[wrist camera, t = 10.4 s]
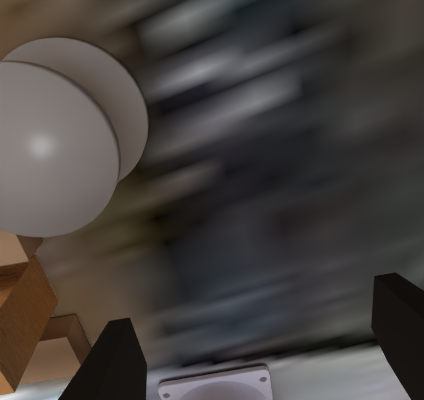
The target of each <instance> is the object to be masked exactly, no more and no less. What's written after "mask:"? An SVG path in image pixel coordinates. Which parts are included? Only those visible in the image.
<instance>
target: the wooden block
mask: <svg viewBox="0 0 424 400" xmlns="http://www.w3.org/2000/svg"><path fill="white" fill-rule="evenodd" d="M57 302H58V301H57V299H56V296H55V294H54V292H53V290H52V288H51V286H50V284H49V282H48V280H47V278H46V276H45V274H44V272H43V270H42V268H41V266H40V264H39V262H38V260H37V258H36V255H33V256H32V258H31V259H30V260H29V261H28V262H22V263H16V264H10V265H5V266H0V395H4V394H9V393H15V391H16V389H17V387H18V385H19V383H20V380H21V378H22V376H23V374H24V372H25V370H26V368H27V366H28V363H29V361H30V359H31V357H32V355H33V353H34V351H35V348H36V346H37V344H38V342H39V340H40V338H41V336H42V334H43V331H44V329H45V327H46V325H47V323H48V321H49V319H50V317H51V314H52V312H53V310H54V308H55V306H56V304H57Z"/></svg>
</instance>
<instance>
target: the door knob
mask: <svg viewBox="0 0 424 400" xmlns="http://www.w3.org/2000/svg"><path fill="white" fill-rule="evenodd" d="M148 132H149V114H148V109H147V104H146V101H145V98H144V95H143V93H142V91H141V88H140V86H139V85H138V83H137V81H136V80H135V78H134V77H133V75H132V74H131V73H130V72H129V70H128V69H127V68H126V67H125V66H124V65H123V64H122V63H121V62H120V61H119V60H118V59H117V58H115V57H114V56H113V55H111V54H110V53H109V52H107V51H105V50H104V49H102V48H100V47H98V46H96V45H94V44H91V43H89V42H86V41H82V40H79V39H73V38H62V37H56V38H46V39H39V40H35V41H31V42H28V43H26V44H24V45H21V46H19V47H18V48H16V49H15V50H13V51H12V52H10V53H9V54H8V55H7V56H6V57H5V58H4V59H3V60H2V61H0V230H3V231H6V232H9V233H12V234H17V235H22V236H29V237H52V236H59V235H63V234H68V233H70V232H73V231H76V230H78V229H80V228H82V227H84V226H86V225H87V224H89V223H90V222H91V221H93V220H94V219H95V218H96V217H97V216H98V215H99V214H100V213H101V212H102V211H103V210H104V208H105V207H106V206H107V204H108V202H109V200H110V199H111V197H112V195H113V192H114V190H115V188H116V185H117V182H119V181H120V180H122V179H123V178H125V177H126V176H127V175H128V174H129V173H130V172H131V171H132V170H133V168H134V167H135V166H136V164H137V163H138V161H139V159H140V158H141V156H142V153H143V150H144V148H145V145H146V142H147V137H148Z"/></svg>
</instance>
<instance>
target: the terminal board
mask: <svg viewBox="0 0 424 400" xmlns="http://www.w3.org/2000/svg"><path fill="white" fill-rule="evenodd" d="M41 243H42V241H41V238H40V237H29V236H22V235H17V234H12V233H9V232H6V231H3V230H0V266H5V265H10V264H16V263H22V262H28V261H29V260H30V259H31V258H32V256H33V255H34V253H35V252H36V250H37V249H38V247H39V246H40V244H41ZM90 350H91V347H90V345H89V343H88V341H87V339H86V336H85V334H84V332H83V330H82V328H81V325H80V323H79V321H78V319H77V317H76V315H75V314H74V315H68V316H62V317H56V318H50V319H49V321H48V323H47V325H46V327H45V329H44V331H43V334H42V336H41V338H40V340H39V342H38V344H37V346H36V348H35V351H34V353H33V355H32V357H31V359H30V361H29V363H28V366H27V368H26V370H25V372H24V374H23V376H22V378H21V380H20V383H19V385H20V384H26V383H32V382H38V381H44V380H50V379H56V378H62V377H68V376H74V375H75V374H76V372H77V371H78V369H79V368H80V366H81V365H82V363H83V361H84V360H85V358H86V357H87V355H88V354H89V352H90Z"/></svg>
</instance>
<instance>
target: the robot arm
mask: <svg viewBox="0 0 424 400" xmlns="http://www.w3.org/2000/svg"><path fill="white" fill-rule="evenodd" d="M371 327H372V330H373V332H374V334H375V336H376V338H377V341H378V343H379V345H380V347H381V349H382V351H383V353H384V355H385V357H386V359H387V361H388V363H389V365H390V366H391V368H392V369H393V371H394V373H395V374H396V376H397V378H398V379H399V381H400V382H401V384H402V386H403V387H404V389H405V391H406V392H407V394H408V395H409V397H410V399H411V400H424V291H423V290H422V289H420V288H419V287H417V286H415V285H414V284H412V283H411V282H409V281H408V280H406V279H405V278H403V277H402V276H400V275H399V274H397V273H390V274H384V275H378V276H374V291H373V308H372V325H371ZM146 381H147V363H146V361H145V358H144V355H143V352H142V350H141V347H140V344H139V342H138V339H137V336H136V333H135V331H134V328H133V325H132V322H131V320H130V318H124V319H119V320H113V321H109V322H108V324H107V325H106V327H105V328H104V330H103V331H102V333H101V334H100V336H99V338H98V339H97V341H96V342H95V344H94V346H93V347H92V349H91V350H90V352H89V354H88V355H87V357H86V358H85V360H84V361H83V363H82V365H81V366H80V368H79V369H78V371H77V372H76V374H75V375H74V377H73V378H72V380H71V381H70V383H69V384H68V386H67V387H66V389H65V390H64V392H63V393H62V395H61V396H60V397H59V399H58V400H146ZM158 393H159V396H160V398H161V400H273V397H272V389H271V382H270V374H269V370H268V368H267V367H266V366H257V367H251V368H245V369H239V370H233V371H227V372H221V373H214V374H208V375H202V376H196V377H190V378H184V379H178V380H172V381H166V382H162V383H160V384H159V386H158Z"/></svg>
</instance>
